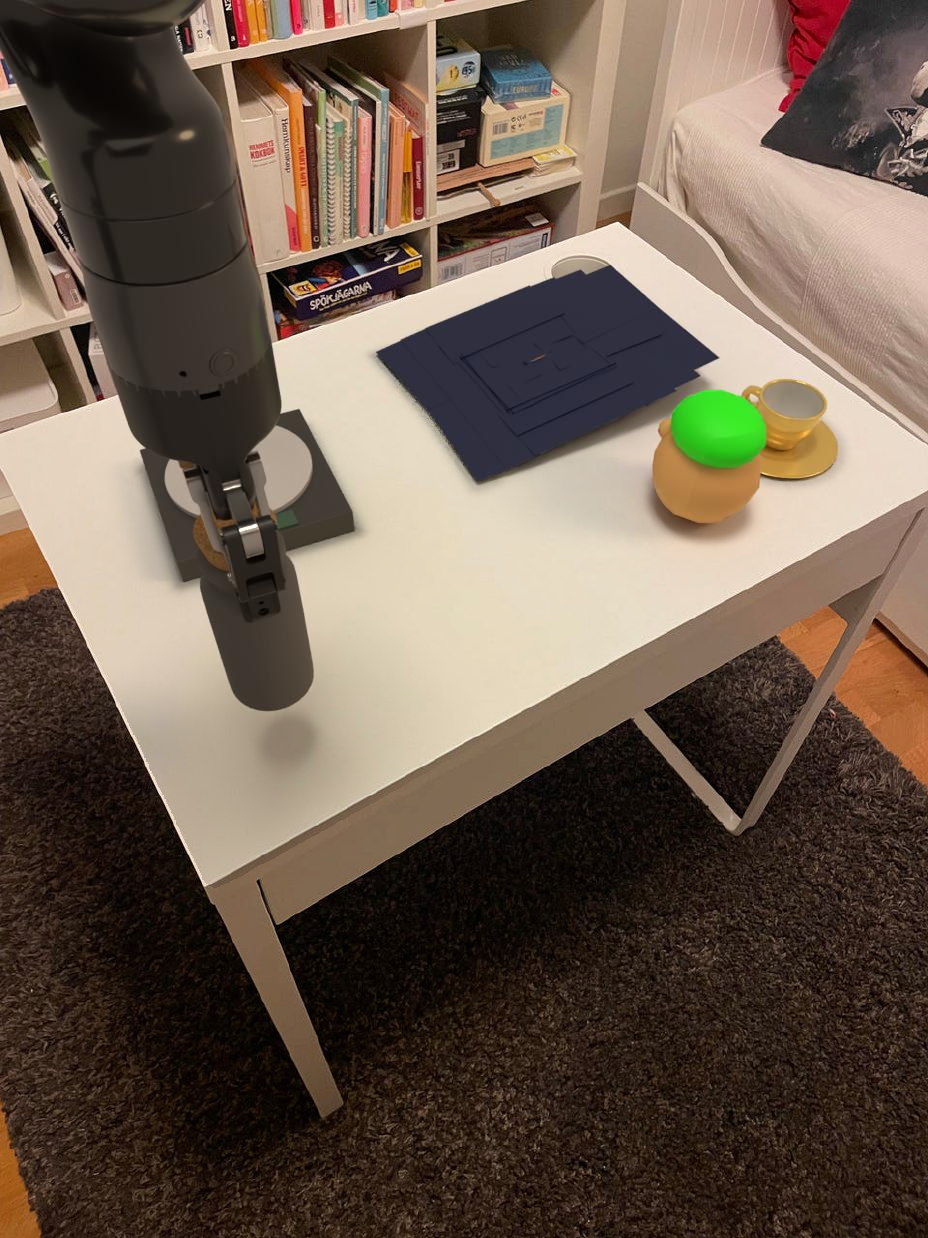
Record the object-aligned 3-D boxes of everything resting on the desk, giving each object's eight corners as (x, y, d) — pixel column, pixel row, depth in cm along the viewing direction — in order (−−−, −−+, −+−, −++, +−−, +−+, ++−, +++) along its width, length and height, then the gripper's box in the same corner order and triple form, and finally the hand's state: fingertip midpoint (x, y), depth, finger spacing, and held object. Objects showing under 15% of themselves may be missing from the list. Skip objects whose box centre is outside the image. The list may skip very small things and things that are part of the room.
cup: (857, 438, 92) (876, 395, 88) (801, 498, 86) (819, 455, 82) (754, 389, 97) (768, 346, 93) (695, 443, 91) (707, 400, 87)
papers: (727, 388, 95) (732, 360, 92) (481, 502, 89) (478, 477, 86) (600, 277, 108) (601, 249, 105) (378, 370, 102) (372, 343, 99)
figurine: (764, 531, 83) (804, 430, 74) (670, 552, 82) (699, 451, 72) (709, 454, 90) (739, 352, 81) (621, 472, 88) (641, 370, 79)
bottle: (212, 678, 62) (161, 525, 51) (278, 631, 65) (243, 475, 53) (266, 728, 60) (225, 579, 48) (332, 676, 63) (308, 524, 51)
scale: (183, 582, 79) (174, 558, 76) (146, 469, 88) (137, 444, 85) (355, 530, 83) (352, 506, 80) (302, 427, 92) (298, 403, 89)
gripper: (78, 274, 44) (160, 517, 57) (135, 451, 36) (216, 687, 49) (227, 245, 46) (273, 486, 59) (313, 406, 38) (345, 645, 51)
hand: (247, 577), depth 54 cm, fingers closed on bottle, 5 cm apart
